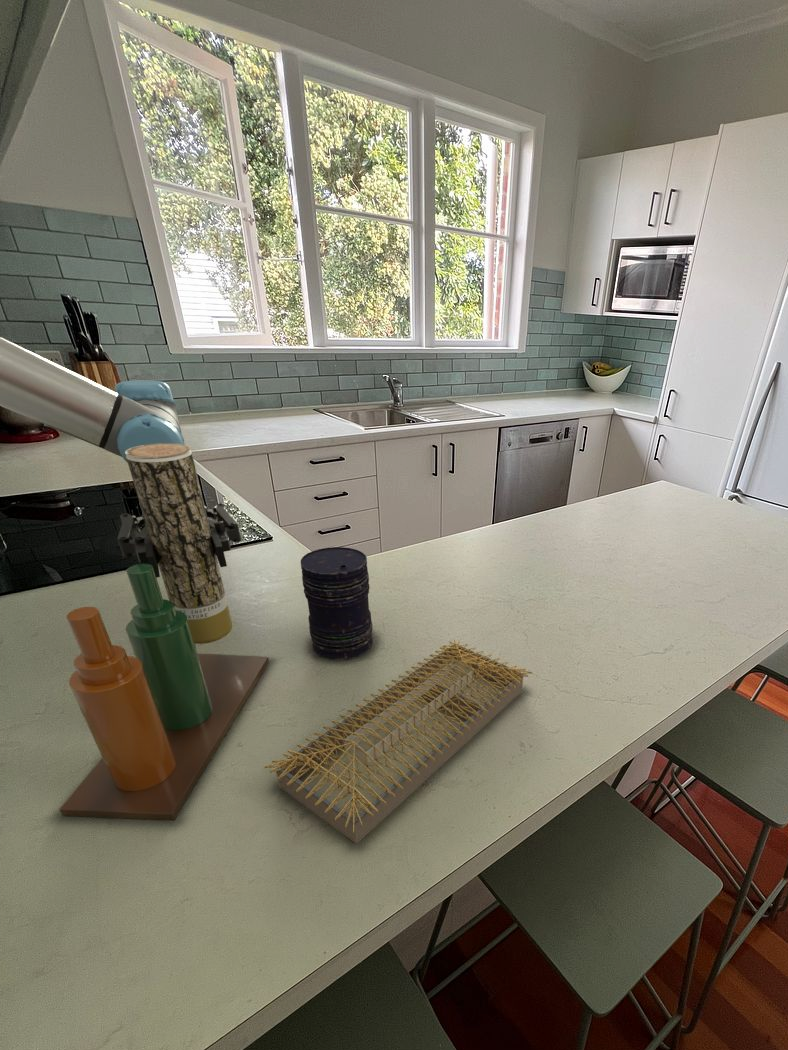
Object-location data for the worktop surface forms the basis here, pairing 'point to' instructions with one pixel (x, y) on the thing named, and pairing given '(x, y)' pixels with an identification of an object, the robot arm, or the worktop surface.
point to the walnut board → (175, 749)
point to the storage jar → (338, 602)
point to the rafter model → (399, 735)
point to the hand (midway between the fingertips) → (188, 561)
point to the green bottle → (166, 653)
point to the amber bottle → (118, 706)
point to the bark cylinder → (181, 536)
